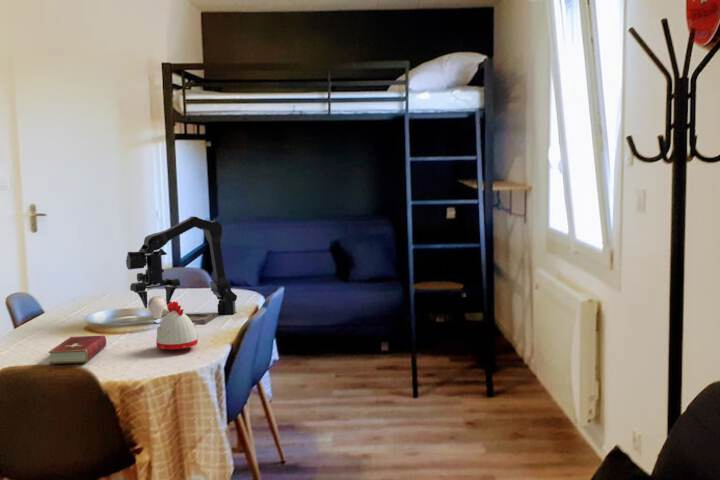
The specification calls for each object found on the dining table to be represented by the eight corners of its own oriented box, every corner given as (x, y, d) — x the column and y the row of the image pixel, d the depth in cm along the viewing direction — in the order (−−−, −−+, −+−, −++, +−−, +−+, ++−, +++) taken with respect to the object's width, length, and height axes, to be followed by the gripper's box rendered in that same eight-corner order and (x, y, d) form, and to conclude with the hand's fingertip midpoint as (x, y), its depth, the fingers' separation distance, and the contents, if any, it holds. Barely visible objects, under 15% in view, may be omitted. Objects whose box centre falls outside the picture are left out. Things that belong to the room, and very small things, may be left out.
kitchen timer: (181, 337, 263) (179, 296, 262) (205, 342, 255) (203, 300, 253) (148, 345, 253) (146, 302, 251) (172, 351, 244) (170, 307, 243)
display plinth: (217, 316, 299) (217, 313, 299) (205, 324, 285) (205, 320, 285) (184, 316, 301) (184, 313, 301) (171, 324, 287) (170, 320, 287)
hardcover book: (106, 346, 255) (105, 334, 255) (87, 362, 234) (86, 349, 234) (71, 347, 254) (70, 335, 254) (49, 363, 234) (48, 350, 233)
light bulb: (147, 325, 285) (145, 298, 284) (150, 322, 292) (149, 295, 291) (164, 324, 286) (163, 297, 285) (167, 321, 292) (166, 294, 291)
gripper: (166, 262, 299) (168, 300, 300) (123, 268, 287) (125, 307, 288) (179, 265, 291) (182, 303, 292) (135, 270, 278) (138, 310, 280)
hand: (156, 306), depth 288 cm, fingers open, 9 cm apart
